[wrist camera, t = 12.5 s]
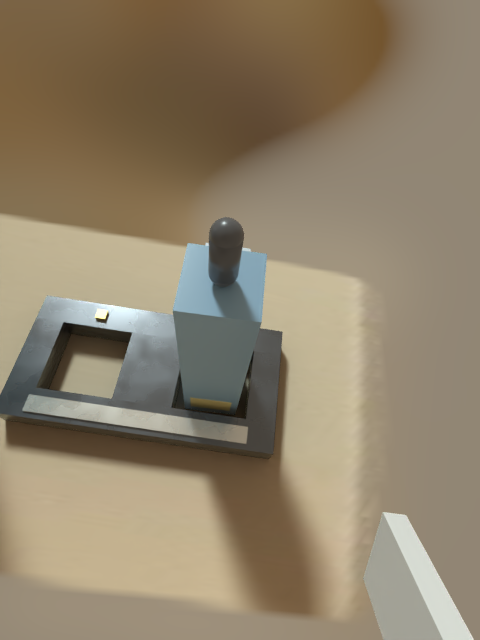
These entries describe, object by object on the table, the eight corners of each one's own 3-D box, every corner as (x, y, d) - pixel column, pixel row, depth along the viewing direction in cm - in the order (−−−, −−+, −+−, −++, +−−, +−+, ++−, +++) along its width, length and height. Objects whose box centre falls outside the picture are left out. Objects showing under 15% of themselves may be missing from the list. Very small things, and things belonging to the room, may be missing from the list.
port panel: (5, 420, 28) (-10, 411, 26) (54, 308, 33) (45, 293, 31) (268, 459, 28) (273, 453, 26) (278, 342, 33) (283, 330, 31)
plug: (184, 409, 30) (165, 256, 13) (194, 353, 32) (188, 168, 16) (234, 415, 30) (276, 271, 13) (240, 360, 32) (281, 181, 16)
